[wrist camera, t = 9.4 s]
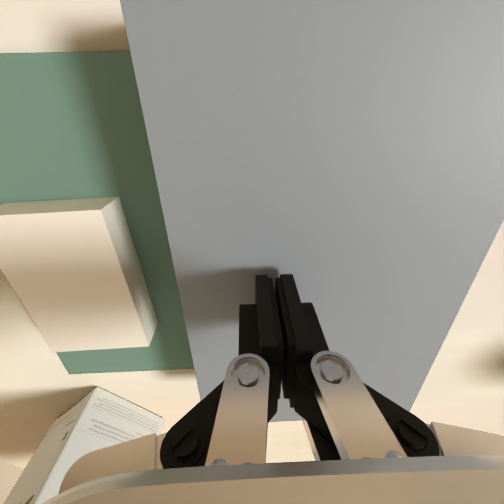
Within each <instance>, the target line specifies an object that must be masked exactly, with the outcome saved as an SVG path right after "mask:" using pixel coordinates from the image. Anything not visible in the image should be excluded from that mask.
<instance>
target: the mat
mask: <svg viewBox="0 0 504 504" xmlns="http://www.w3.org/2000/svg"><path fill="white" fill-rule="evenodd" d="M102 197H119V198H120V201H121V205H122V208H123V211H124V214H125V218H126V221H127V224H128V227H129V231H130V234H131V237H132V240H133V244H134V247H135V250H136V253H137V257H138V260H139V263H140V266H141V270H142V273H143V276H144V279H145V283H146V286H147V289H148V292H149V296H150V299H151V302H152V305H153V309H154V312H155V315H156V318H157V322H158V324H157V327H156V330H155V332H154V335H153V337H152V340H151V342H150V345H149V346H148V347H132V348H115V349H99V350H83V351H66V352H57V354H58V356H59V357H60V359H61V361H62V363H63V364H64V366H65V368H66V369H67V371H68V373H69V374H82V373H105V372H127V371H150V370H172V369H194V364H193V359H192V354H191V349H190V344H189V340H188V335H187V330H186V325H185V320H184V315H183V310H182V305H181V300H180V295H179V290H178V285H177V280H176V275H175V270H174V265H173V260H172V255H171V250H170V245H169V240H168V235H167V230H166V225H165V221H164V216H163V211H162V206H161V201H160V196H159V191H158V186H157V181H156V176H155V171H154V166H153V161H152V156H151V151H150V146H149V141H148V136H147V131H146V126H145V121H144V116H143V111H142V106H141V101H140V97H139V92H138V87H137V82H136V77H135V72H134V67H133V62H132V57H131V52H130V51H98V52H47V53H0V204H2V203H13V202H31V201H49V200H66V199H84V198H102Z"/></svg>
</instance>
